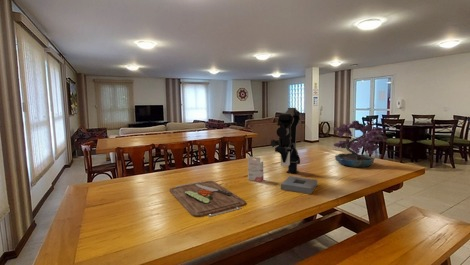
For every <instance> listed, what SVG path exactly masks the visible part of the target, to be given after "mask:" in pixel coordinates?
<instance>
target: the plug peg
mask: <svg viewBox="0 0 470 265" xmlns="http://www.w3.org/2000/svg"><path fill="white" fill-rule="evenodd" d="M289 165H290V151H289V153H288V156H287V159H286V162H285V163H283V160H282V157H281V156H280V166H281V167H282V166H284V167H288V166H289Z"/></svg>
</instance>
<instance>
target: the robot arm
mask: <svg viewBox="0 0 470 265" xmlns="http://www.w3.org/2000/svg"><path fill="white" fill-rule="evenodd" d="M301 120H302V115H301V112H300V111H299V110H298V109H297V107H288V108H287V110H286V111H285V112H281V113H280V114H279V115H278V120H277V124H276V125H277V126H278V128H277V129H276V135H277V137H278V139H276V140H275V139H272V140H270V146H271V147H272V148H274V152H276V153H279V154H280V158H281V157H282V160H283V163H285V162H286V159H287V156H288V153H289V151H290V165H289V166H287V171H286V173H288V174H295V175H296V174H297V173H299V170H298V165H300V164H301V159H300V155H299V151H298V150H297V133H298V126H299V124H300V123H301Z"/></svg>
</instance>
